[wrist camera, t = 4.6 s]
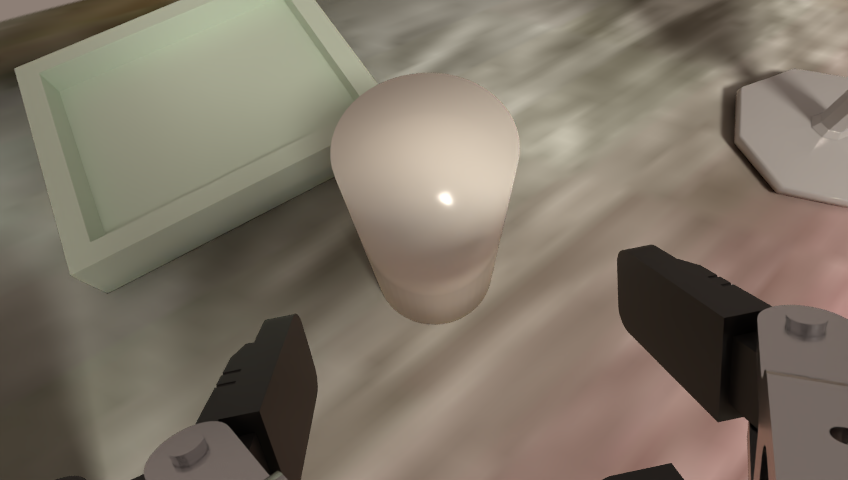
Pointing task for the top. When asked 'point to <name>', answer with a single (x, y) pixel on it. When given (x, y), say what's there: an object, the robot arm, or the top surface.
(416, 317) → the white domed cylinder
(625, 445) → the top surface
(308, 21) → the tray
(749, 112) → the wineglass
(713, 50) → the top surface
